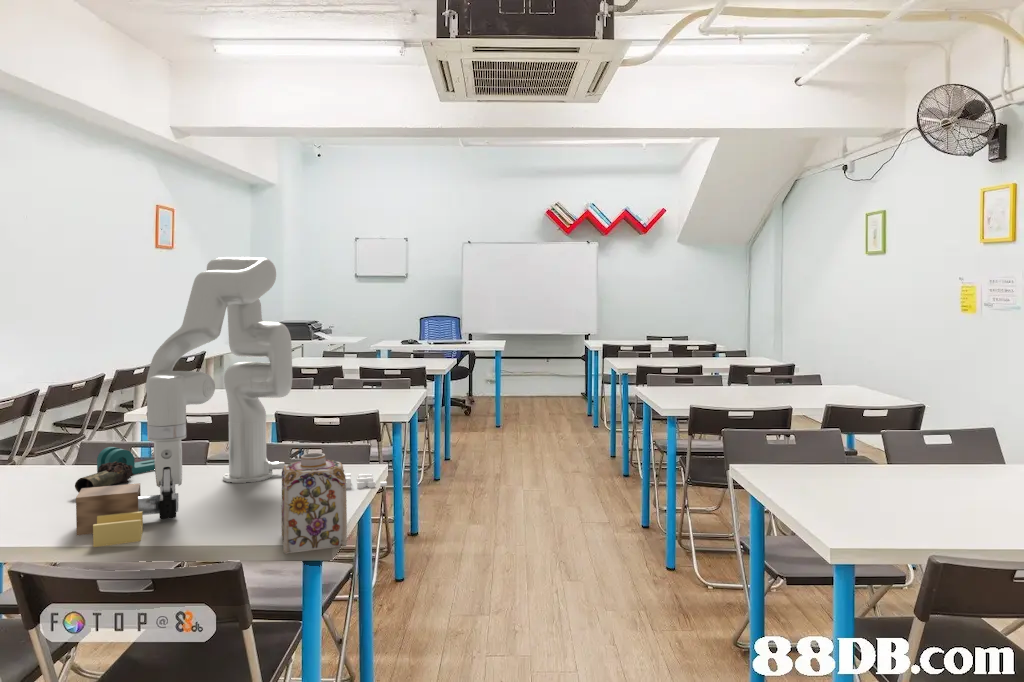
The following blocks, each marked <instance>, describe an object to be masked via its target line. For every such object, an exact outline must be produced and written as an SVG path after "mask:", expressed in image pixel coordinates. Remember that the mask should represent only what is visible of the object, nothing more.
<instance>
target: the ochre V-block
mask: <svg viewBox="0 0 1024 682" xmlns="http://www.w3.org/2000/svg"><path fill="white" fill-rule="evenodd" d="M143 516H144V515H143V511H140V512H130V513H120V514H111V515H101V516H97V524H94V525H93V534H92V535H93V536H92V539H93V543H92V544H93V545H92V546H93V548H99V547H105V546H107V547H108V546H112V545H122V544H127V543H128V544H130V543H137V542H141V541H142V536H143V531H144V525H143V523H144V520H143V519H144V517H143Z"/></svg>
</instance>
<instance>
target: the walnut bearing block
mask: <svg viewBox="0 0 1024 682" xmlns="http://www.w3.org/2000/svg"><path fill="white" fill-rule="evenodd" d="M138 496H142V495H141V483H139V482H138V483H128V484H115V485H109V486H103V487H91V488H82V489H81V490H80V492H78V494H76V497H75V518H76V519H75V520H76V521H75V525H76V536H81V535H82V536H83V535H91V534H92V535H93V525H94V524H97V516H101V515H111V514H120V513H130V512H139V508H138Z"/></svg>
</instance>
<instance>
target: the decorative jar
mask: <svg viewBox="0 0 1024 682" xmlns="http://www.w3.org/2000/svg"><path fill="white" fill-rule="evenodd" d="M284 465H285V466H283V469H281V505H280V506H281V507H280V510H281V511H280V513H281V514H280V515H281V521H280V522H281V536H282V546H283V547H282V548H283V549H282V550H283V554H294V553H300V552H310V551H315V550H325V549H333V548H340V547H347V537H348V535H347V532H348V531H347V527H348V524H347V523H348V522H347V521H348V518H347V517H348V515H347V514H348V513H347V512H348V511H347V508H348V507H347V505H348V504H347V489H346V478H345V474H346V473H345V470H344V465H343V463H341V461H335V460H333V459H327V458H326V454H325V453H323V452H312V453H311V452H310V453H305V454H302V455H301V456H300V460H299V461H294V462H291V463H288V464H284Z"/></svg>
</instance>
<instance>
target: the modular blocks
mask: <svg viewBox="0 0 1024 682" xmlns="http://www.w3.org/2000/svg"><path fill="white" fill-rule="evenodd" d="M344 474H345V478H346V490H347V489H351V488H352V478H351V477H352V476H351V475H352V473H351V472H350V473H349V472H348V473H344ZM373 476H374V475H373V474H371V473H366V474H365V473H359V474H358V475H357V478H356V488H357V489H365V488H368V487H369V488H375V487H376V486H375V485H376V484H375V482H376V481H375V478H374V477H373ZM366 486H368V487H366ZM379 486H380V487H387V486H388V481H379Z"/></svg>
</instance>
